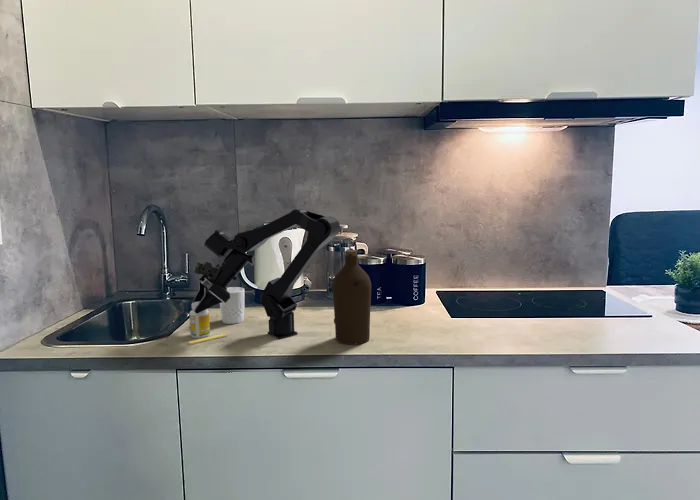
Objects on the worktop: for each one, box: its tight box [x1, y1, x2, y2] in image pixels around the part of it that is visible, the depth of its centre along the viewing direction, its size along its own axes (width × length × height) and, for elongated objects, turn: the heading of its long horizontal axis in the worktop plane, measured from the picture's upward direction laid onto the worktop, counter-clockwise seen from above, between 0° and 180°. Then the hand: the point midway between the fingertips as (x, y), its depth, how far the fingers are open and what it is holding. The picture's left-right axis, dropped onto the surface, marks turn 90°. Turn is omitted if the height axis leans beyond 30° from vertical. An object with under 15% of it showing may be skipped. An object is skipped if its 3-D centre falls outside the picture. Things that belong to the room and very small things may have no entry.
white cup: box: [219, 286, 245, 325], centre depth 166 cm, size 8×8×10 cm
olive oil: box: [332, 249, 372, 346], centre depth 145 cm, size 11×11×25 cm
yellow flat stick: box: [187, 333, 228, 346], centre depth 149 cm, size 11×2×1 cm, turn 130°
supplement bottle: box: [189, 301, 211, 339], centre depth 152 cm, size 5×5×10 cm
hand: (193, 309), depth 151 cm, fingers open, 6 cm apart
